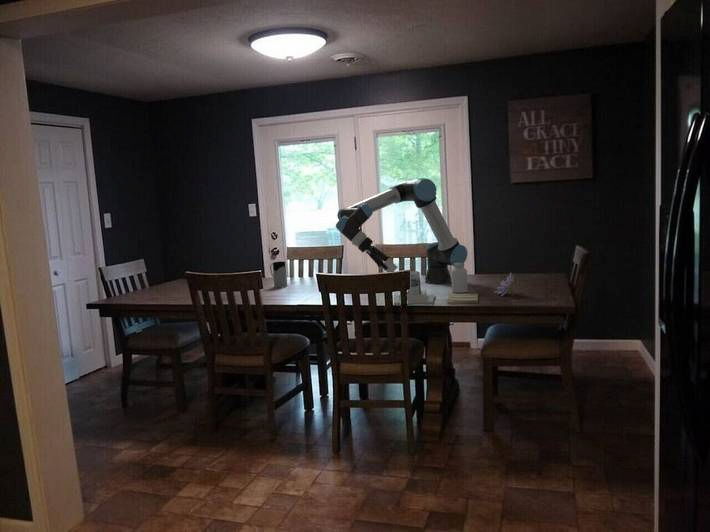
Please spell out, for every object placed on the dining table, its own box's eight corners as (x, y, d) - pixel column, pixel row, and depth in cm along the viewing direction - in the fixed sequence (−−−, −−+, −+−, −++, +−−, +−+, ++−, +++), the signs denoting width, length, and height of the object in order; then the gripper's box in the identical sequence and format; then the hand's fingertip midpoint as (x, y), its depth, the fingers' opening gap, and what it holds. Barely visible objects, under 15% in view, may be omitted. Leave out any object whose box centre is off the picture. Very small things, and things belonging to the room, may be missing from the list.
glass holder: (278, 288, 353) (276, 263, 351) (265, 286, 364) (263, 262, 362) (291, 286, 359) (289, 261, 357) (277, 284, 369) (275, 260, 367)
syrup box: (411, 302, 286) (409, 273, 284) (405, 300, 292) (403, 271, 290) (421, 301, 289) (420, 271, 287) (415, 299, 294) (414, 270, 292)
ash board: (449, 296, 295) (449, 294, 295) (477, 295, 293) (477, 293, 292) (447, 303, 278) (447, 301, 278) (478, 303, 275) (477, 300, 275)
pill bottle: (467, 293, 301) (466, 264, 299) (451, 293, 303) (450, 264, 301) (467, 290, 309) (466, 261, 307) (452, 290, 311) (451, 262, 309)
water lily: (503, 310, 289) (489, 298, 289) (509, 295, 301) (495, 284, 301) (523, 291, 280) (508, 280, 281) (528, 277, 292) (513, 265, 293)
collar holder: (395, 297, 302) (395, 289, 301) (435, 296, 298) (434, 288, 297) (390, 305, 282) (389, 297, 282) (432, 304, 278) (432, 296, 278)
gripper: (362, 244, 304) (392, 272, 302) (352, 250, 279) (385, 280, 278) (371, 234, 302) (402, 262, 301) (362, 238, 278) (395, 269, 276)
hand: (394, 271), depth 289 cm, fingers open, 13 cm apart
